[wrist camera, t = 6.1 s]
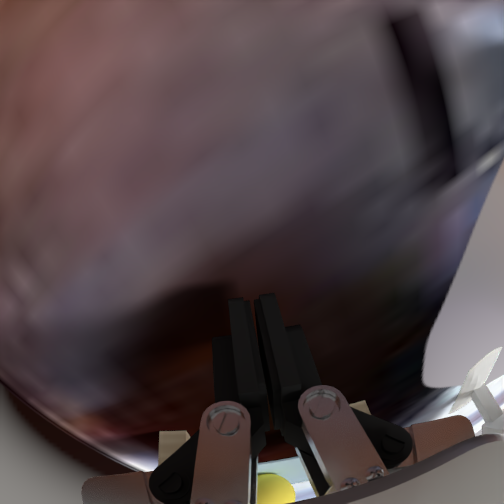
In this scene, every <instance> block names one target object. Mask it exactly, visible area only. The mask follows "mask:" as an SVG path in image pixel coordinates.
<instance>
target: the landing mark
mask: <svg viewBox="0 0 504 504" xmlns="http://www.w3.org/2000/svg"><path fill="white" fill-rule="evenodd" d="M267 473H269V474H276V475H279V476H281V477H283V478H285V479H286V480H288V481H289V482H290V483H291V484H294V483H299V482H304V481H308V480H309V479H308V477H307V475H306V472H305V470H304V468H303V466H302V463H301V461H300V459H299V456H297V457H292V458H287V459H281V460H275V461H269V462H263V463H258V475H259V474H267Z"/></svg>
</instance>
